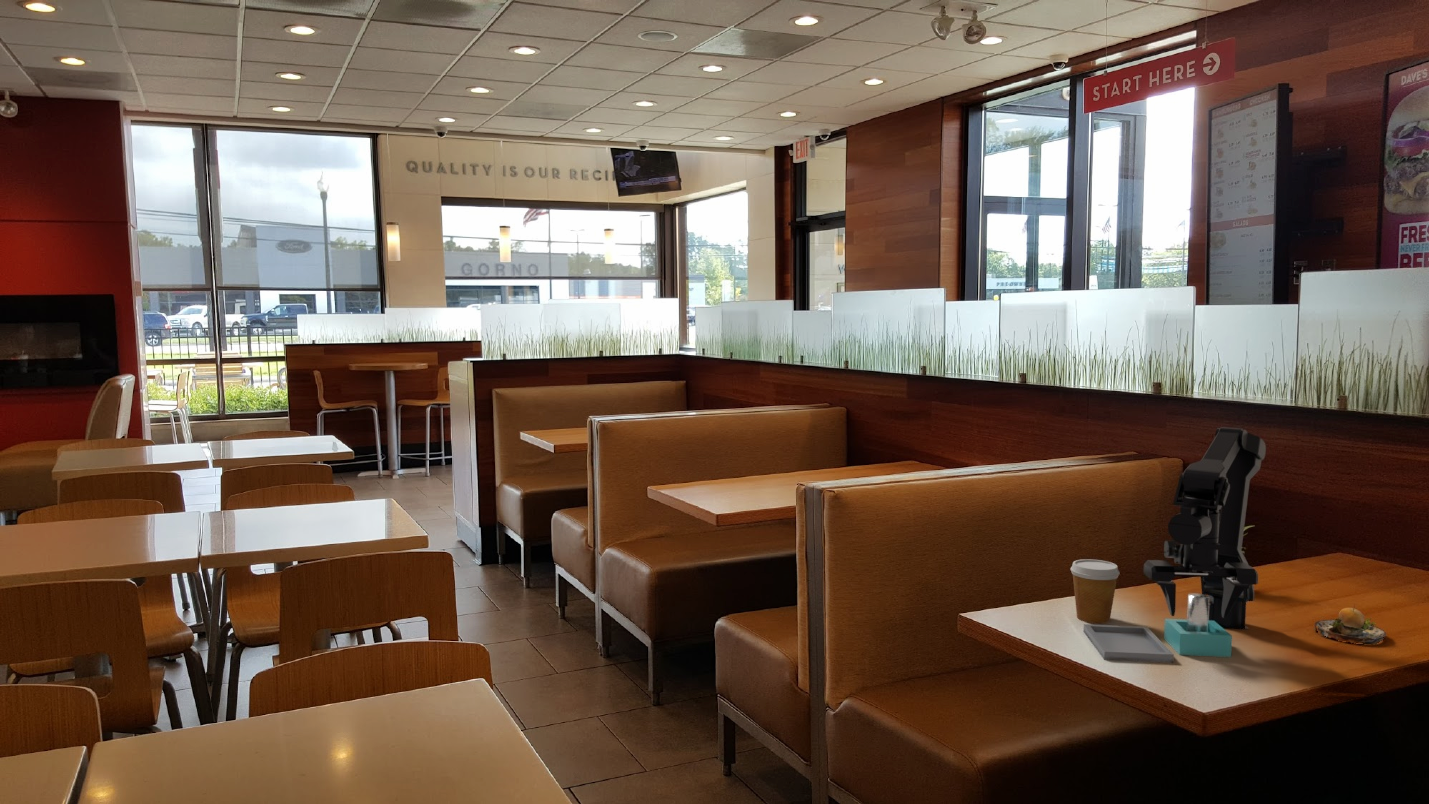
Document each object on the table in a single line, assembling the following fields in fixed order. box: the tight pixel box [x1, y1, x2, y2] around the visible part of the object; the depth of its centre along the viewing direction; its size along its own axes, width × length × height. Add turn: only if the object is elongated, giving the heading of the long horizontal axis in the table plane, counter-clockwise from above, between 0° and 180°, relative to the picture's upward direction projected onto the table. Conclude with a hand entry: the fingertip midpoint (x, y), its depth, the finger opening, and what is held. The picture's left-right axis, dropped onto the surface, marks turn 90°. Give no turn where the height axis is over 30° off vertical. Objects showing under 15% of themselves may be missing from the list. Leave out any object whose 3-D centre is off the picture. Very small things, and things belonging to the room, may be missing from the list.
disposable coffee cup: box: [1070, 558, 1120, 625], centre depth 201 cm, size 10×10×12 cm
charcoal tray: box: [1083, 623, 1175, 664], centre depth 185 cm, size 12×16×2 cm
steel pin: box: [1186, 592, 1209, 632], centre depth 184 cm, size 4×4×10 cm
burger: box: [1314, 603, 1387, 644], centre depth 192 cm, size 12×12×8 cm
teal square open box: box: [1163, 618, 1233, 658], centre depth 184 cm, size 9×9×4 cm
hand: (1197, 616), depth 183 cm, fingers open, 9 cm apart
